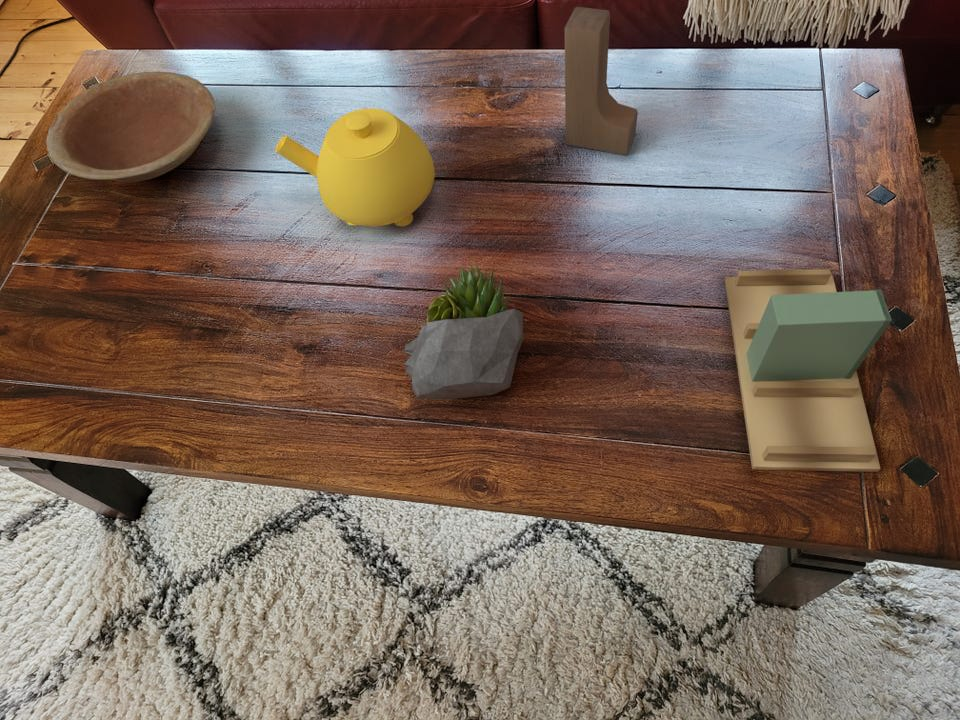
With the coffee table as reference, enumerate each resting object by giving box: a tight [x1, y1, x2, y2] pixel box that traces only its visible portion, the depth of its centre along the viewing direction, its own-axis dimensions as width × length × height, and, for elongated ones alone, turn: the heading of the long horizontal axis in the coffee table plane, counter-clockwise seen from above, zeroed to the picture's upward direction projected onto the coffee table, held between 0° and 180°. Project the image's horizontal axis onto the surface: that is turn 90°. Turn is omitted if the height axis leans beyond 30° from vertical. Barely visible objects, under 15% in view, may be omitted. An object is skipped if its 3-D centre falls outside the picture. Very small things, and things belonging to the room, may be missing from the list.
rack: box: [724, 268, 881, 473], centre depth 74 cm, size 12×24×3 cm, turn 176°
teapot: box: [274, 107, 436, 227], centre depth 89 cm, size 20×16×14 cm
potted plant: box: [403, 263, 524, 401], centre depth 75 cm, size 12×13×15 cm
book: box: [746, 289, 893, 381], centre depth 69 cm, size 10×4×11 cm, turn 89°
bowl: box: [46, 71, 216, 183], centre depth 101 cm, size 24×24×8 cm
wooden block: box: [564, 6, 639, 156], centre depth 89 cm, size 9×4×18 cm, turn 69°
